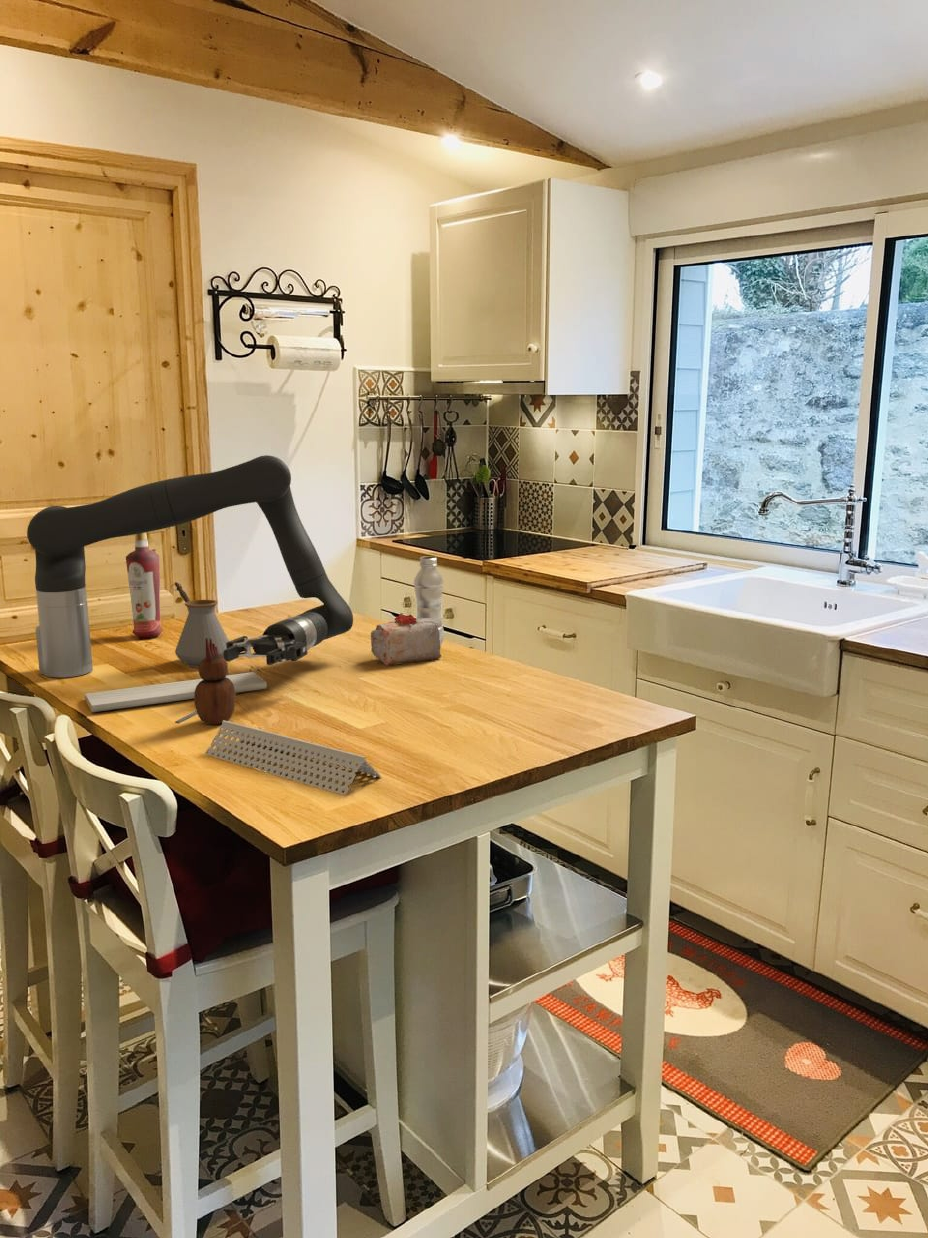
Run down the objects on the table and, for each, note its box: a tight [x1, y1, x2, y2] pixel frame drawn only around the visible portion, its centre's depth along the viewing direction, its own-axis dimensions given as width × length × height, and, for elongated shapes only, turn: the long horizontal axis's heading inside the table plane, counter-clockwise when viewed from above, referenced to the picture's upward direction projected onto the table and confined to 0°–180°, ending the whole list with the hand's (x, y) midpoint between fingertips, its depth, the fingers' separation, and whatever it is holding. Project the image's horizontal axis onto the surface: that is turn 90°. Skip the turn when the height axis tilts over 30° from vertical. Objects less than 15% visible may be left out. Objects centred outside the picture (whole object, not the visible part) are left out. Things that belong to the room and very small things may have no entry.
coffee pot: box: [170, 581, 230, 668], centre depth 211 cm, size 21×12×15 cm, turn 34°
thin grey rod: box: [175, 693, 238, 723], centre depth 177 cm, size 1×19×1 cm, turn 161°
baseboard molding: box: [84, 665, 268, 713], centre depth 185 cm, size 31×3×12 cm
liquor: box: [125, 532, 164, 640], centre depth 229 cm, size 7×7×28 cm
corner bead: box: [204, 720, 383, 796], centre depth 148 cm, size 29×9×5 cm, turn 55°
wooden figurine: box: [193, 638, 236, 726], centre depth 168 cm, size 7×6×15 cm
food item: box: [370, 612, 442, 666], centre depth 209 cm, size 14×8×10 cm, turn 118°
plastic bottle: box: [413, 555, 445, 646], centre depth 219 cm, size 6×7×20 cm
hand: (246, 657), depth 177 cm, fingers open, 8 cm apart
